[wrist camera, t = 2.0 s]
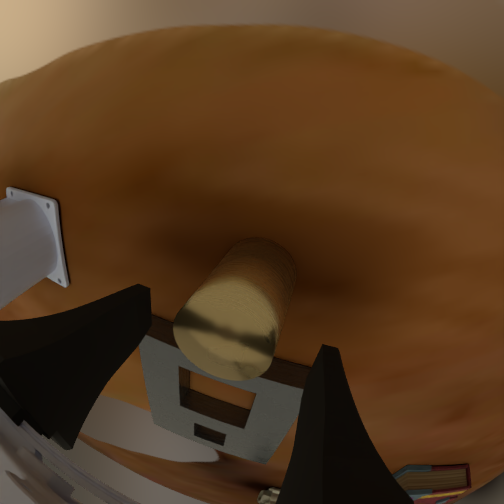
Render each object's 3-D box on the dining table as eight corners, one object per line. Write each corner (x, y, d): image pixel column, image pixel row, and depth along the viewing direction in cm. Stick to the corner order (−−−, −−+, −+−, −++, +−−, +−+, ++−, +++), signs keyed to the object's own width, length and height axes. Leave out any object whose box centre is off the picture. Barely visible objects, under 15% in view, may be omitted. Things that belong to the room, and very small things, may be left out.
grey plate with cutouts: (162, 410, 26) (153, 423, 24) (151, 314, 19) (137, 330, 18) (270, 448, 24) (265, 464, 22) (315, 368, 17) (311, 391, 16)
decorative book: (470, 460, 19) (474, 491, 15) (404, 500, 27) (402, 524, 22) (406, 462, 21) (406, 499, 17) (345, 498, 28) (341, 525, 24)
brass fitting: (221, 291, 17) (173, 360, 12) (229, 229, 15) (172, 286, 10) (286, 310, 16) (261, 391, 11) (304, 249, 14) (284, 322, 9)
